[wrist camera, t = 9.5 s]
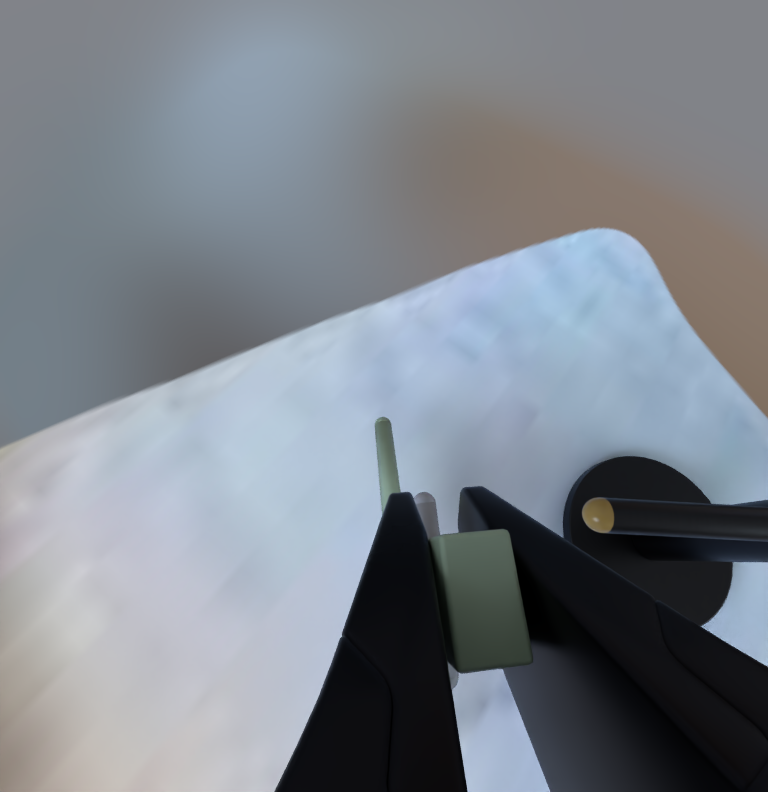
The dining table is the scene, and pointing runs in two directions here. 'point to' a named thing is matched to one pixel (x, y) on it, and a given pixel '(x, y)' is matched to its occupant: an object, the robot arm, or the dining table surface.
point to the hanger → (467, 582)
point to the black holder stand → (664, 532)
